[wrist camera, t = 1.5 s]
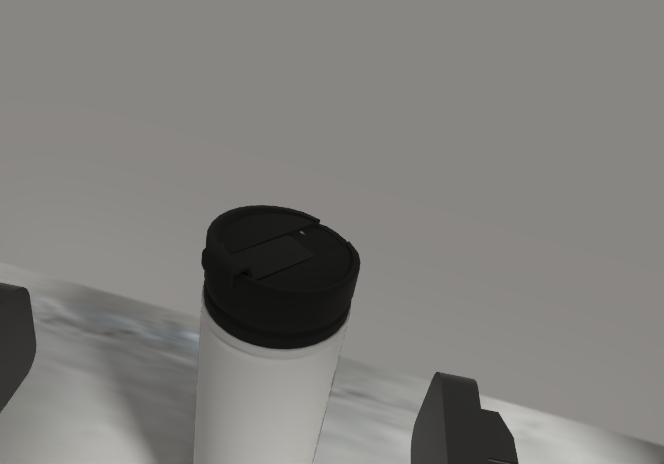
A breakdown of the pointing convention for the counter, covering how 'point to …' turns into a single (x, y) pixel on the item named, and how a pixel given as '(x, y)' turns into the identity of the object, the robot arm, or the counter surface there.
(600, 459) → the counter surface
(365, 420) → the counter surface
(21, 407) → the counter surface
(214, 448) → the travel mug
